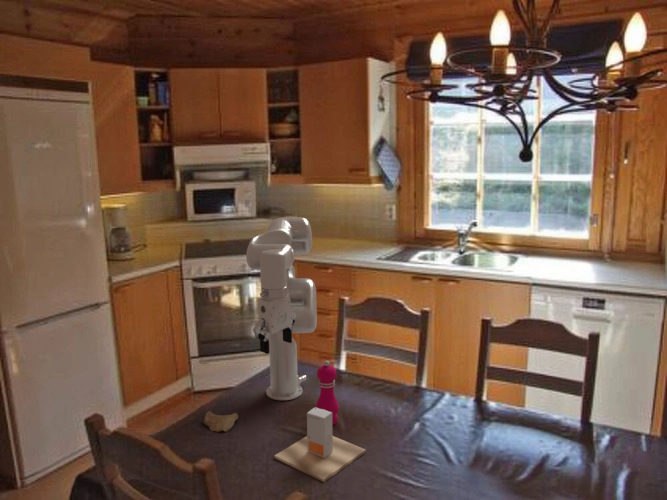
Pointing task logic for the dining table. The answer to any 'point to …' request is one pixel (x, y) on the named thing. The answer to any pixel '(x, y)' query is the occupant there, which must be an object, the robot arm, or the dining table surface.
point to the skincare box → (319, 432)
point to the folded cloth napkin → (320, 458)
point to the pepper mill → (327, 390)
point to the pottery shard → (220, 421)
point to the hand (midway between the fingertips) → (276, 347)
